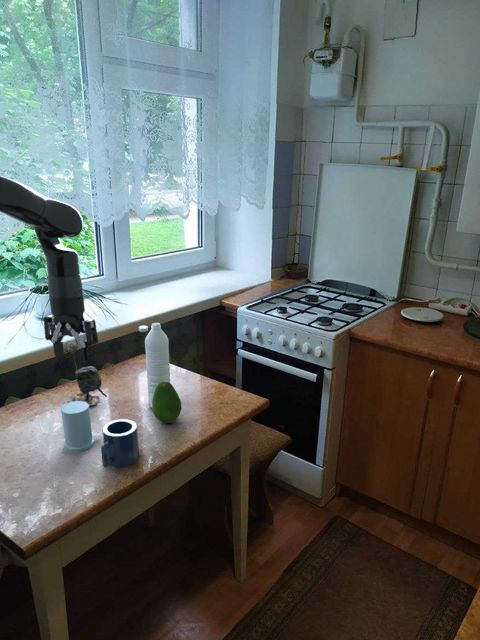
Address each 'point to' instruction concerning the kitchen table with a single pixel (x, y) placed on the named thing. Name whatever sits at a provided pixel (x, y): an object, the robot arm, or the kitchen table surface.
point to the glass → (77, 426)
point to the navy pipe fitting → (120, 443)
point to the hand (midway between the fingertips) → (73, 359)
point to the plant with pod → (85, 379)
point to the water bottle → (156, 358)
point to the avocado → (166, 403)
